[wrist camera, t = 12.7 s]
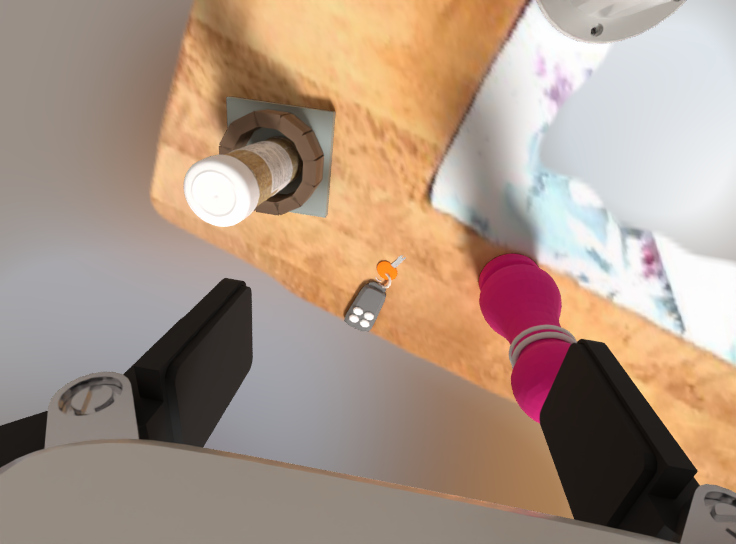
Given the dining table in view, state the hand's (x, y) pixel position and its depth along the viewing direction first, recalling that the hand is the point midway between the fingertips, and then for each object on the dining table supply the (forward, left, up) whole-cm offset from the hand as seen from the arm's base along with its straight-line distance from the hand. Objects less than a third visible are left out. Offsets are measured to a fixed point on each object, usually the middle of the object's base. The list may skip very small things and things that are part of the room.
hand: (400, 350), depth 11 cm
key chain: (+13, -1, -29) cm, 32 cm away
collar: (+1, -13, -28) cm, 31 cm away
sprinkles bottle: (+1, -13, -28) cm, 30 cm away
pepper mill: (+10, +12, -28) cm, 32 cm away
